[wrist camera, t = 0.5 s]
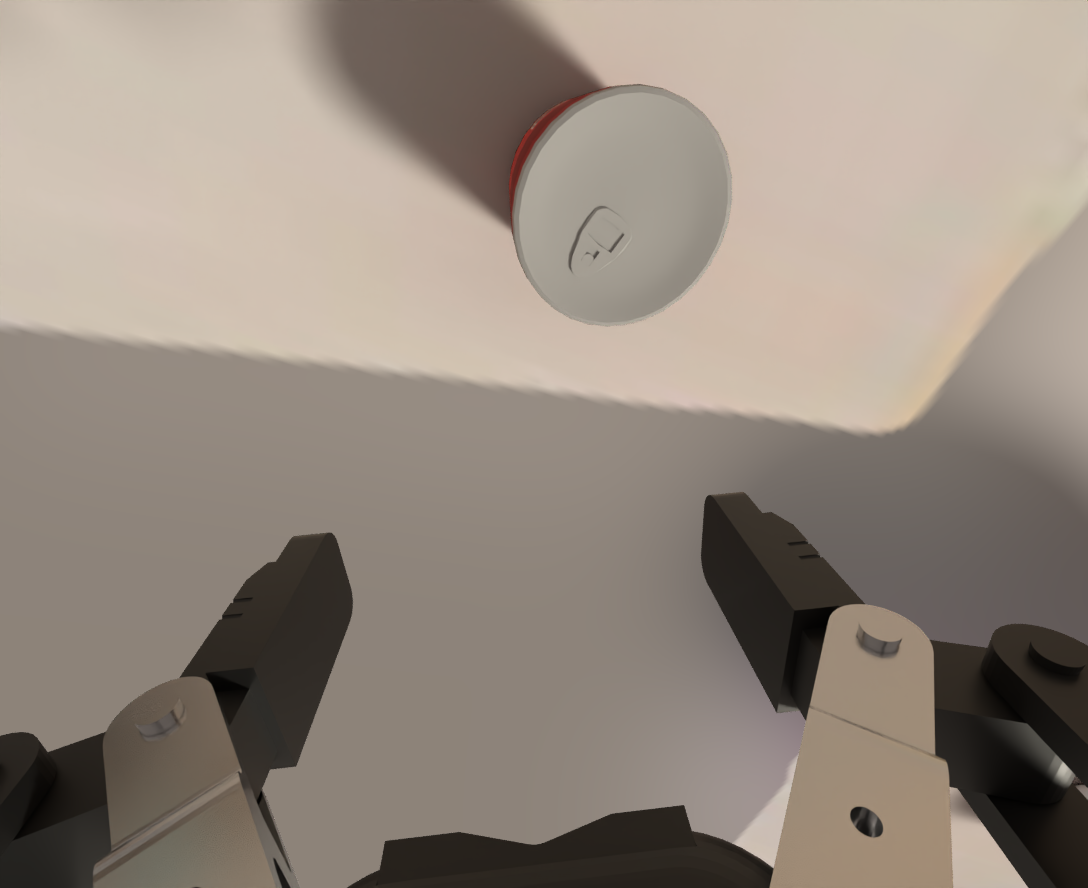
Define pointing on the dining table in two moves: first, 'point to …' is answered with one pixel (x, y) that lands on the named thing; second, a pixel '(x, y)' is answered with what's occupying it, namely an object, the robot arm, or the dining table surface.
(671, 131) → the canned food
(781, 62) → the dining table surface
